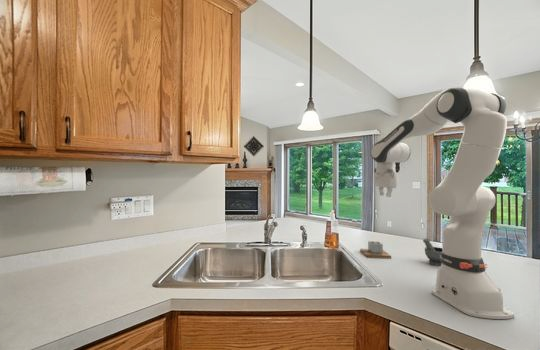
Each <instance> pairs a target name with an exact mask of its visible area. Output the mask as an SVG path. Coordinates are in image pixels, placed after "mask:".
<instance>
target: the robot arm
mask: <svg viewBox="0 0 540 350" xmlns="http://www.w3.org/2000/svg"><path fill="white" fill-rule="evenodd" d="M506 109H507V104H506V100H505V99H504V98H503V97H502V96H500V95H499V94H496V93H493V92H492V93H489V92H487V91H482V90H479V89H475V88H463V87H452V88H448V89H444V90H442V91H441V92H439V93H438V94H436V95H435V96H434V97H433V98H431V99H430V100H429V101H428V102H427V103H426V104H425V105H424V106H423V107H422V109H420V110H419V111H418V112H417V113H415V114H413V116H411V117H409V118H407V119H406V120H404V121H403V122H401V123H400V124H398V125H397V126H396V127H395V128H394V129H393V130H391V132H389V133H388V134H387V135H385V137H382V138H380V139H379V140H378V141H376V142H375V143H374V144H373V145H372V147H371V149H370V155H371V158H372V159H373V160H374V161H375V162H376V165H375V168H374V170H373V173H374V184H375V186H376V187H378V191H379V196H384V195H385V192H384V188H385V189H386V195H385V196H386V197H387V198H391V197H392V192H393V189H396V188H397V183H398V182H397V174H396V173H395V172H396V163H404V162H405V163H406V162H407V161H408V160H409V159H410V156H411V153H412V152H411V151H412V150H411V147H410V146H409V145H408V144H407V143H404V142H403V141H404V140H406V139H409V138H412V137H413V138H415V137H420V136H430V135H433V134H435V133H437V132H438V131H440V130H442V129H443V128H444V127H445V126H446V125H447V124H448V123H449V122H452V123H454V124H458V123H461V124H462V126H463V133H462V136H461V139H460V143H459V146H458V149H457V151H456V154H455V157H454V159H453V163H452V165H451V167H450V168H449V170H448V172H447V174H445V177H444V178H443V179H442V181H440V183H439V184H438V185H436V186H435V187H434V188H432V190H430V193H429V195H428V198H427V199H428V204H429V207H430V208H431V210H432V211H434V213H436V214H439V215H443V216H445V217H450V218H449V221H448V223H447V225H446V226H445V227H444V229H443V230H442V245H441V246H442V247H441V248H442V252H441V255H440V258H441V263H442V264H441V266H439V268H438V269H437V274H436V279H435V281H436V282H435V288H434V289H432V291H431V293H432V294H433V295H434V296H436V297H437V298H439V299H440V300H442V301H444V302H445V303H447V304H449V305H450V306H452V307H453V308H455V309H457V310H459V311H460V312H461V313H464V314H465V315H468V316H471V317H476V318H482V319H490V320H491V319H492V320H493V319H495V320H508V319H512V318H514V317H515V314H514V312H513V311H512V310H510V309H509V308H508V307H507V306H505V305H504V298H503V297H504V296H503V293H502V290H501V288H500V287H499V286H498V285H496V284H495V283H494V282H493V280H492V278H491V277H490V276H489V275H488V274H487V271H486V269H487V268H488V264H487V263H485V262H484V259H483V257H482V246H483V245H482V241H483V240H482V239H483V233H484V229H485V228H484V227H486V226H485V225H486V223H487V219H488V216H489V214H490V212H491V210H492V209H493V208H494V207H495V205H496V194H495V193H494V192H493V191H492V189H490V188H489V187H485V186H483V185H482V184H483V183H484V181H485V180H486V179H487V178H488V177H489V176H490V175H492V174H493V172H494V170H495V168H496V166H497V162H498V159H499V156H500V154H501V151H502V148H503V146H504V141H505V138H506V133H507V127H508V125H507V124H508V120H507V117H506V116H505V115H504V114H505V112H506Z"/></svg>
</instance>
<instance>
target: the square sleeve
mask: <svg viewBox="0 0 540 350" xmlns="http://www.w3.org/2000/svg"><path fill="white" fill-rule="evenodd" d="M373 242H374V241H373V240H372V241H370V240H368V243H367V245H368V246H367V249H368V251H369V252H370V253H371V254H383V250H384V249H383V243H382V242H380V241H376V242H377V243H378V244H373Z"/></svg>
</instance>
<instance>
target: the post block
mask: <svg viewBox="0 0 540 350" xmlns="http://www.w3.org/2000/svg"><path fill="white" fill-rule="evenodd" d="M377 242H378V241H373V244H378V243H377ZM359 250H360V252H361V253H362V254H363V255H364V257H366V258H367V259H392V255H391V254H389V253H388V252H387V251H385V250H384V249H383V254H371V253H370V252H369V251H368V248H360V249H359Z"/></svg>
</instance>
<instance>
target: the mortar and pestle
mask: <svg viewBox="0 0 540 350" xmlns="http://www.w3.org/2000/svg"><path fill="white" fill-rule="evenodd" d="M422 242H423V243H424V245H425V247H424V253H425V256H426V257H427V259H428V263H429V265H431V266H436V267H440V266H441V264H442V263H441V258H440V255H441V252H442V247H439V246H438V247H437V246H433V245H432V243H431V241H430V239H429V238H427V237H426V238H423V239H422Z"/></svg>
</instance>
